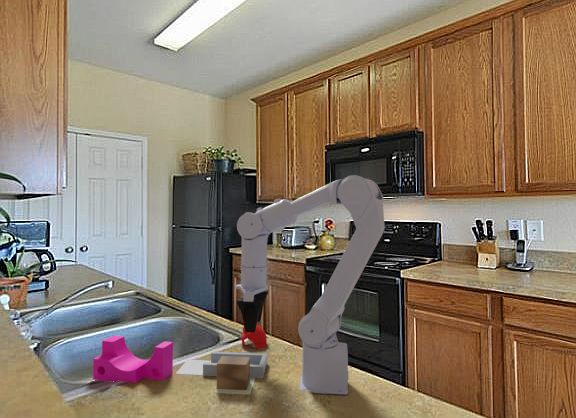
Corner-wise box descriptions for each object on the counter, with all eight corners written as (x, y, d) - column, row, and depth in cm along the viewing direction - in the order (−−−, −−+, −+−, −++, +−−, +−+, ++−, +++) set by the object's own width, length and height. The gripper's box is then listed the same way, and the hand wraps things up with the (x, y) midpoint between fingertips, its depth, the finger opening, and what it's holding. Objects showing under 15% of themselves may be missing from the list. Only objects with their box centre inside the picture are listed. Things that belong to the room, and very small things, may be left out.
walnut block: (249, 381, 80) (250, 357, 80) (246, 390, 76) (246, 364, 76) (221, 380, 80) (221, 356, 80) (216, 388, 76) (216, 363, 76)
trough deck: (267, 365, 90) (267, 353, 90) (262, 380, 82) (262, 367, 82) (187, 362, 91) (187, 350, 91) (175, 376, 83) (175, 363, 83)
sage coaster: (255, 381, 81) (255, 378, 81) (249, 397, 74) (249, 394, 74) (222, 379, 82) (222, 377, 82) (214, 395, 75) (214, 392, 75)
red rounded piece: (232, 333, 102) (242, 326, 98) (248, 321, 107) (258, 314, 102) (249, 359, 101) (259, 353, 97) (265, 346, 105) (275, 340, 101)
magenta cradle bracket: (93, 380, 81) (93, 344, 81) (113, 368, 87) (114, 335, 87) (155, 389, 77) (156, 352, 77) (172, 376, 83) (173, 342, 83)
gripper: (242, 261, 94) (241, 316, 94) (229, 270, 80) (228, 336, 80) (271, 262, 94) (270, 317, 94) (263, 271, 79) (262, 337, 79)
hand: (253, 326), depth 87 cm, fingers open, 7 cm apart
